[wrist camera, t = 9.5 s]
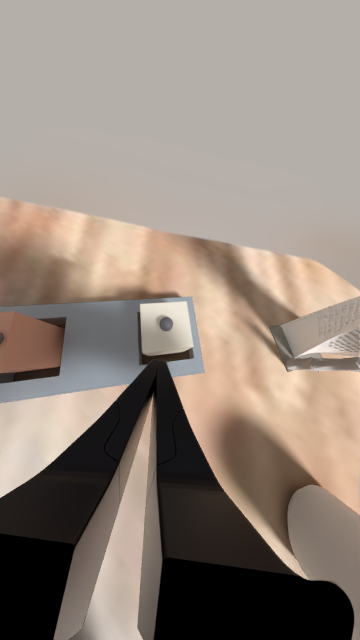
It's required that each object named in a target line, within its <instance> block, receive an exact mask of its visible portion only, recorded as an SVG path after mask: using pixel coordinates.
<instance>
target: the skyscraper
mask: <svg viewBox="0 0 360 640" xmlns="http://www.w3.org/2000/svg"><path fill="white" fill-rule="evenodd" d="M270 329H271V332H272V334H273V337H274V339H275V342H276V344H277V347H278V349H279V352H280V354H281V357H282V359H283V362H284V364H285V367H286V369H287V372H290V371H293V370H313V371H317V372H319V371H355V372H360V296H359V297H356V298H353V299H350V300H347V301H344V302H342V303H339V304H336V305H333V306H330V307H327V308H324V309H322V310H319V311H316V312H314V313H311V314H308V315H305V316H303V317H300V318H298V319H295V320H292V321H290V322H287V323H285V324H282V325H279V326H275V327H270ZM320 353H325V354H335V355H345V356H355V357H353V358H344V359H327V358H322V356H321V354H320Z"/></svg>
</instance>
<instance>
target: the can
mask: <svg viewBox="0 0 360 640" xmlns="http://www.w3.org/2000/svg"><path fill="white" fill-rule="evenodd" d="M287 519H288V532H289V540H290V543H291V546H292V550H293V553H294V555H295V557H296V559H297V561H298V563H299V565H300V567H301V568H302V570H303V571H304V573H305V574H306V576H307V577H308V579H309V580H328V581H334V582H336V583H337V584H338V585H339V586H340V587H341V588H342V589H343V591H344V592H345V593H346V594H347V596H348V597H349V599H350V601H351V604H352V607H353V610H354V629H353V635H352V640H360V515H359V514H357V513H356V512H355V511H353V510H352V509H351V508H350V507H348V506H347V505H346V504H344V503H343V502H342V501H341V500H339V499H338V498H337V497H335V496H334V495H333V494H331V493H330V492H329V491H328V490H326V489H324V488H322V487H320V486H318V485H307V486H305V487H303V488H300V489H298V490H297V491H296V492H295V493H294V494H293V495H292V497H291V499H290V502H289V504H288V512H287Z"/></svg>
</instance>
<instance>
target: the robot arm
mask: <svg viewBox="0 0 360 640" xmlns="http://www.w3.org/2000/svg"><path fill="white" fill-rule="evenodd" d="M153 393H154V394H153ZM152 397H153V404H152V419H151V434H150V449H149V464H148V478H147V493H146V508H145V523H144V538H143V553H142V567H141V582H140V597H139V612H138V625H137V628H138V630H139V632H140V634H141V636H142V638H143V640H352V635H353V629H354V610H353V607H352V604H351V601H350V599H349V597H348V596H347V594H346V593H345V592H344V591H343V589H342V588H341V587H340V586H339V585H338V584H337V583H336V582H334V581H328V580H306V579H304V578H302V577H301V576H299V575H298V574H296V573H295V572H293V571H292V570H291V569H290V568H289V567H288V566H287V565H286V564H285V563H284V562H283V561H282V560H281V559H280V558H279V557H278V556H277V555H276V553H275V552H274V551H273V550H272V549H271V547H270V546H269V545H268V544H267V542H266V541H265V540H264V539H263V538H262V536H261V535H260V534H259V533H258V532H257V530H256V529H255V528H254V527H253V525H252V524H251V523H250V522H249V521H248V519H247V518H246V517H245V516H244V515H243V513H242V512H241V511H240V510H239V508H238V507H237V506H236V505H235V504H234V502H233V501H232V500H231V499H230V498H229V496H228V495H227V494H226V492H225V491H224V490H223V488H222V487H221V485H220V484H219V482H218V480H217V479H216V477H215V475H214V473H213V471H212V469H211V467H210V465H209V463H208V461H207V459H206V457H205V455H204V453H203V451H202V449H201V447H200V445H199V443H198V441H197V439H196V437H195V435H194V433H193V431H192V428H191V426H190V424H189V421H188V419H187V416H186V414H185V411H184V409H183V406H182V403H181V400H180V398H179V395H178V392H177V389H176V387H175V384H174V381H173V379H172V376H171V373H170V370H169V368H168V365H167V362H166V361H165V360H159V359H152V360H151V361H150V363H149V364H148V365H147V366H146V367H145V368H144V369H143V370H142V372H141V373H140V374H139V375H138V376H137V377H136V378H135V379H134V380H133V382H132V383H131V384H130V385H129V386H128V387H127V388H126V389H125V391H124V392H123V393H122V394H121V395H120V396H119V397H118V398H117V400H116V401H115V402H114V403H113V404H112V405H111V406H110V407H109V408H108V409H107V410H106V412H105V413H104V414H103V415H102V416H101V417H100V418H99V419H98V420H97V421H96V422H95V423H94V424H93V425H92V426H91V427H90V428H88V429H87V430H86V431H85V432H84V433H83V434H82V435H81V436H80V437H79V438H78V439H77V440H76V441H75V442H73V443H72V444H71V445H70V446H69V447H68V448H67V449H66V450H65V451H64V452H63V453H62V454H61V455H60V456H58V457H57V458H56V459H55V460H54V461H53V462H52V463H51V464H50V465H48V466H47V467H46V468H45V469H44V470H42V471H41V472H40V473H38V474H37V475H36V476H34V477H33V478H31V479H30V480H28V481H27V482H25V483H24V484H22V485H20V486H19V487H17V488H16V489H14V490H12V491H11V492H9V493H8V494H6V495H4V496H3V497H1V498H0V640H70V639H71V638H72V637H73V636H75V635H76V634H77V633H78V632H79V631H80V630H82V627H83V624H84V621H85V617H86V614H87V611H88V607H89V604H90V601H91V598H92V594H93V591H94V588H95V584H96V581H97V578H98V575H99V571H100V568H101V565H102V561H103V558H104V555H105V552H106V548H107V545H108V542H109V538H110V535H111V532H112V529H113V525H114V522H115V519H116V516H117V512H118V509H119V504H120V502H121V499H122V496H123V493H124V489H125V486H126V483H127V479H128V476H129V473H130V470H131V466H132V463H133V460H134V456H135V453H136V450H137V447H138V443H139V440H140V437H141V433H142V430H143V427H144V424H145V420H146V417H147V414H148V411H149V407H150V404H151V401H152Z"/></svg>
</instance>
